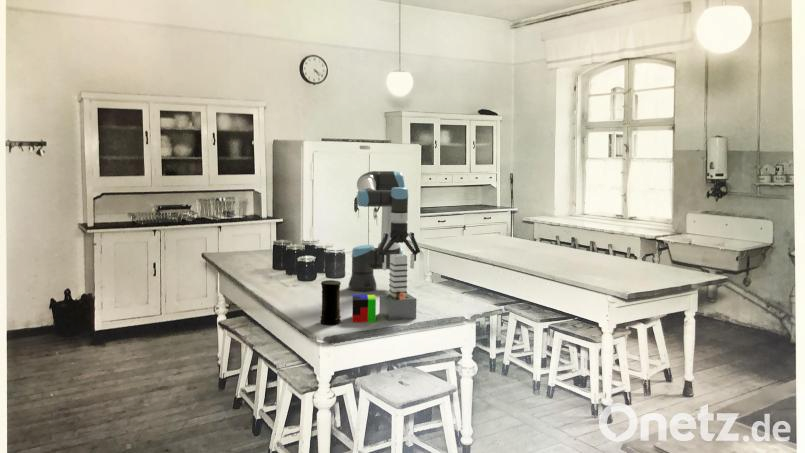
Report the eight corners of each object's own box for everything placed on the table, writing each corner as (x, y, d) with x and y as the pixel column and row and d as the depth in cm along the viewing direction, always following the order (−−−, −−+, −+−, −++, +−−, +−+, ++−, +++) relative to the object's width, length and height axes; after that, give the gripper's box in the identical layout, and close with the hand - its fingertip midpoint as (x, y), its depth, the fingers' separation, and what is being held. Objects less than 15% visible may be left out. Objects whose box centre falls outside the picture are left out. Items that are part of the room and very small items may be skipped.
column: (393, 300, 294) (394, 256, 292) (388, 297, 300) (389, 254, 297) (406, 299, 296) (407, 256, 294) (401, 296, 302) (402, 253, 300)
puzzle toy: (352, 316, 297) (352, 294, 296) (374, 316, 298) (374, 294, 297) (352, 322, 287) (352, 300, 286) (375, 322, 288) (375, 299, 287)
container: (329, 318, 292) (329, 279, 290) (345, 322, 287) (345, 281, 285) (315, 323, 285) (315, 282, 283) (331, 326, 280) (331, 285, 277)
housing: (388, 320, 291) (389, 294, 289) (379, 313, 303) (379, 288, 301) (416, 318, 295) (416, 292, 294) (405, 311, 307) (406, 286, 306)
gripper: (375, 223, 286) (374, 271, 288) (428, 222, 295) (426, 269, 297) (370, 221, 293) (369, 268, 295) (421, 220, 302) (420, 266, 304)
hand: (398, 269), depth 296 cm, fingers open, 13 cm apart
